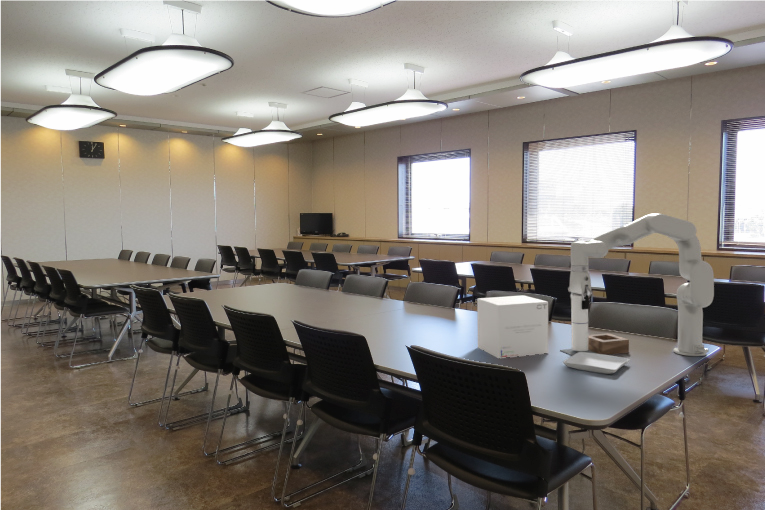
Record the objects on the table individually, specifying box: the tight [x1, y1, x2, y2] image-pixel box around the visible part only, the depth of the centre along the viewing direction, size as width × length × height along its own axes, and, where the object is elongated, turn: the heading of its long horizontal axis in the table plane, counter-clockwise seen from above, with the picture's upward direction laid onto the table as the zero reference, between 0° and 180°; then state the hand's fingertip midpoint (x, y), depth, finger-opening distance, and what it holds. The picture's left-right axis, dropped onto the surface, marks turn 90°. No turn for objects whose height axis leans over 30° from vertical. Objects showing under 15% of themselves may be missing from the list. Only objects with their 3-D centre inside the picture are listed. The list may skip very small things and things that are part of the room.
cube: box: [476, 294, 549, 359], centre depth 246 cm, size 25×21×24 cm
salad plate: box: [562, 352, 631, 375], centre depth 217 cm, size 21×21×3 cm
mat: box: [559, 348, 598, 357], centre depth 239 cm, size 12×12×1 cm
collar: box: [588, 332, 630, 356], centre depth 243 cm, size 14×14×6 cm
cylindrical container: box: [570, 294, 589, 351], centre depth 238 cm, size 7×7×25 cm
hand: (579, 307), depth 238 cm, fingers closed on cylindrical container, 7 cm apart
